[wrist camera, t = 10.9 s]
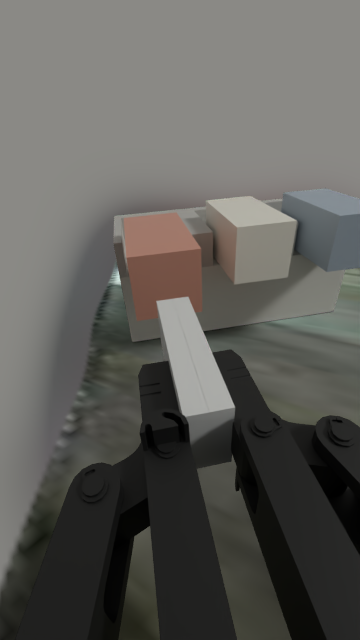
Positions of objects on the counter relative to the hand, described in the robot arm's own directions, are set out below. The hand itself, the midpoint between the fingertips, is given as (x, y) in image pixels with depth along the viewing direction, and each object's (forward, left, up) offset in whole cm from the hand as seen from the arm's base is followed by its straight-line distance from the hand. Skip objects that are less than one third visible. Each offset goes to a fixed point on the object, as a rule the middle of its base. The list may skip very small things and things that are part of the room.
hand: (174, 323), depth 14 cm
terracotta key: (-4, -6, -2) cm, 7 cm away
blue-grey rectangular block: (-17, -2, -2) cm, 17 cm away
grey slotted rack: (-13, -9, -9) cm, 18 cm away
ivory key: (-11, -5, -2) cm, 12 cm away
